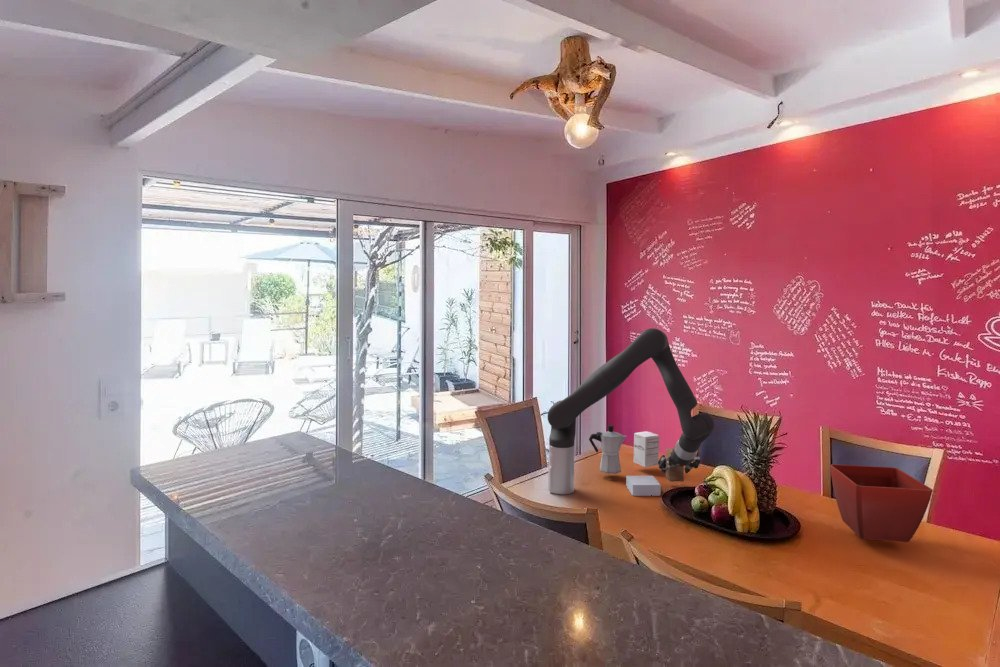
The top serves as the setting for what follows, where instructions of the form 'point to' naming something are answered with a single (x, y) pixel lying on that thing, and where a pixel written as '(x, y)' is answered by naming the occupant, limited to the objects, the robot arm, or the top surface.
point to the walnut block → (674, 470)
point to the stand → (643, 485)
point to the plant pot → (880, 501)
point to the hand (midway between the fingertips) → (674, 471)
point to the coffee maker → (609, 449)
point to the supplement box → (646, 449)
